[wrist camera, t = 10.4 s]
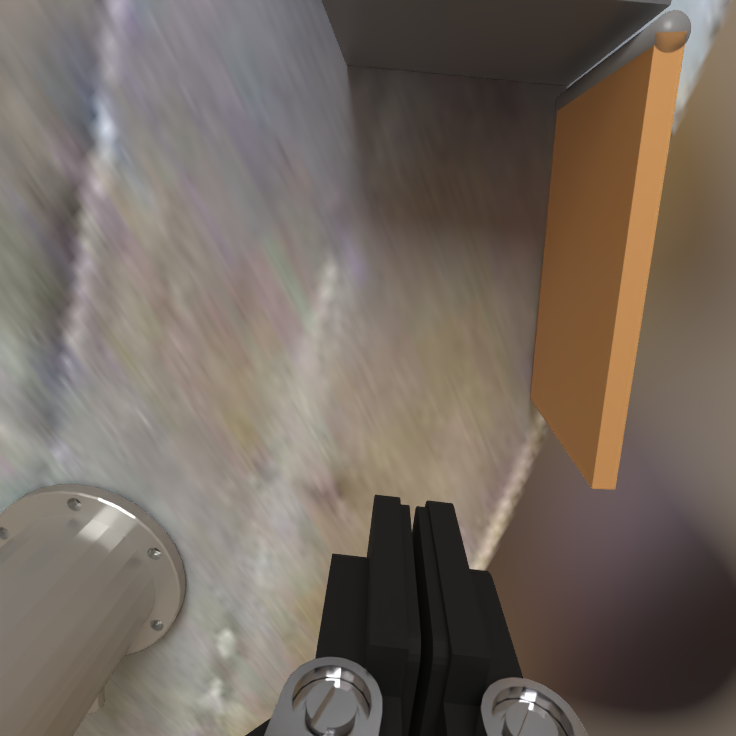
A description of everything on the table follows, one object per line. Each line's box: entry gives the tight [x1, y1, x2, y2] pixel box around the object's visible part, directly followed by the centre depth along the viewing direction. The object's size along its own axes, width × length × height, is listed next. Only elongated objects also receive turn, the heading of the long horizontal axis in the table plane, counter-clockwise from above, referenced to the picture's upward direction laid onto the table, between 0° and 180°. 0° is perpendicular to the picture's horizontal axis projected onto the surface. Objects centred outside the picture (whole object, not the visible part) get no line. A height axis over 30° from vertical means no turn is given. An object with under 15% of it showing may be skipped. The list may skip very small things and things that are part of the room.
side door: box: [530, 10, 691, 489], centre depth 20 cm, size 2×14×9 cm, turn 1°
